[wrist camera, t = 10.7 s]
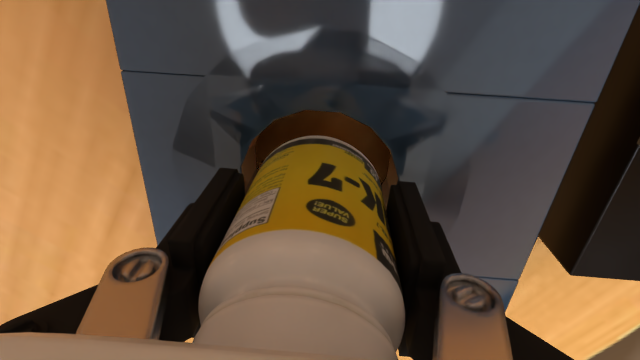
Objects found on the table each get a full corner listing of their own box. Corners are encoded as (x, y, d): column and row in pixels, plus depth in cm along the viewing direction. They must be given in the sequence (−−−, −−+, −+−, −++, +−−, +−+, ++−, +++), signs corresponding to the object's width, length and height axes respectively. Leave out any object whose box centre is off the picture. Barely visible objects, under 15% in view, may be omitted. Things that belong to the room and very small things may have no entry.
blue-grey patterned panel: (122, -139, 11) (67, -172, 9) (629, -112, 11) (704, -140, 8) (190, 279, 20) (171, 314, 17) (475, 302, 19) (492, 342, 17)
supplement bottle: (406, 194, 13) (491, 453, 6) (317, 258, 15) (292, 521, 7) (318, 103, 12) (275, 288, 4) (231, 185, 13) (91, 420, 6)
